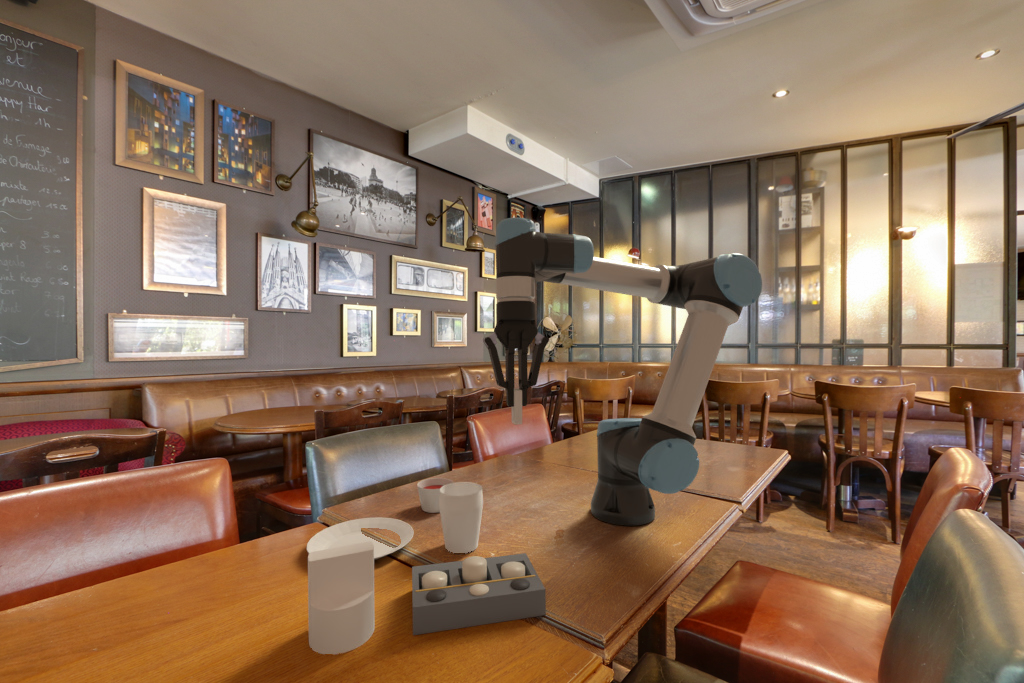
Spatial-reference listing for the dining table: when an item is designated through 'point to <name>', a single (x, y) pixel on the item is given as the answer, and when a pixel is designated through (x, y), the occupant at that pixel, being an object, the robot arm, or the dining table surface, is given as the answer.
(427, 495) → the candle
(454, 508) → the cup
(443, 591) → the board
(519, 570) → the button
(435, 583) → the button
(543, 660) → the dining table surface
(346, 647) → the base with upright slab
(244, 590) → the dining table surface
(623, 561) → the dining table surface
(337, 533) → the plate
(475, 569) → the button
